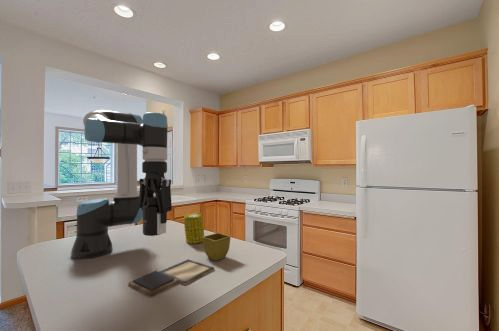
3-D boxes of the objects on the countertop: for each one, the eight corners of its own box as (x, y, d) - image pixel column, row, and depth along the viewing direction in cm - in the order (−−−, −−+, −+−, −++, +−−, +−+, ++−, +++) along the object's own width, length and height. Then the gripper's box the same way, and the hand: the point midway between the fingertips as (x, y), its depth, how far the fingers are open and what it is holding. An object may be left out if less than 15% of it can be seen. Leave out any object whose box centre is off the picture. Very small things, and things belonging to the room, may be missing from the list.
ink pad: (133, 281, 74) (133, 280, 74) (155, 272, 81) (155, 270, 81) (151, 291, 69) (151, 289, 69) (173, 280, 75) (173, 278, 75)
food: (206, 245, 118) (186, 249, 113) (200, 234, 128) (181, 237, 123) (207, 217, 114) (187, 220, 110) (200, 208, 124) (181, 211, 120)
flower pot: (201, 258, 97) (201, 236, 97) (217, 252, 103) (217, 232, 103) (214, 264, 91) (214, 241, 91) (231, 257, 97) (231, 236, 97)
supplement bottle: (137, 235, 72) (138, 197, 72) (151, 230, 79) (151, 194, 79) (157, 236, 71) (157, 197, 71) (169, 231, 78) (169, 195, 78)
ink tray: (128, 285, 74) (128, 282, 74) (156, 273, 82) (156, 270, 82) (150, 297, 67) (150, 293, 67) (178, 282, 75) (178, 279, 75)
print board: (157, 274, 82) (157, 271, 82) (188, 261, 93) (188, 258, 93) (184, 285, 74) (184, 282, 74) (214, 269, 85) (214, 267, 86)
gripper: (127, 161, 78) (126, 229, 77) (164, 160, 67) (163, 239, 66) (147, 161, 84) (146, 225, 84) (184, 160, 73) (184, 233, 73)
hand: (154, 231), depth 75 cm, fingers closed on supplement bottle, 7 cm apart
